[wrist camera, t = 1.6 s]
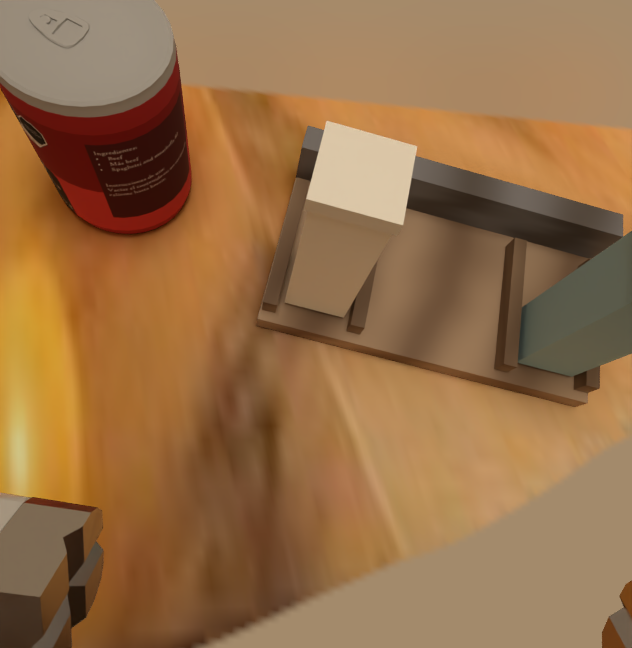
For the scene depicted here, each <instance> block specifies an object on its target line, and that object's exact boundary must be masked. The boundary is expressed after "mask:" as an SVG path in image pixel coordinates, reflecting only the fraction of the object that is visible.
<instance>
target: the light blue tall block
mask: <svg viewBox="0 0 632 648" xmlns="http://www.w3.org/2000/svg"><path fill="white" fill-rule="evenodd" d="M631 353H632V231H631V232H630V233H628V234H627V235H625V236H624V237H622V238H621V239H619V240H618V241H617V242H615V243H614V244H612V245H611V246H609V247H608V248H607V249H605V250H604V251H602V252H601V253H599V254H598V255H596V256H595V257H594V258H592V259H591V260H589V261H588V262H586V263H585V264H584V265H582V266H581V267H579V268H578V269H576V270H575V271H573V272H572V273H571V274H569V275H568V276H566V277H565V278H563V279H562V280H561V281H559V282H558V283H556V284H555V285H553V286H552V287H550V288H549V289H548V290H546V291H545V292H543V293H542V294H540V295H539V296H538V297H536V298H535V299H533V300H532V301H530V302H529V303H527V304H526V305H525V306H523V307H522V313H521V326H520V339H519V352H518V363H521V364H524V365H528V366H532V367H536V368H540V369H544V370H548V371H551V372H555V373H559V374H563V375H567V376H571V377H572V376H575V375H577V374H580V373H582V372H585V371H588V370H590V369H593V368H595V367H598V366H600V365H603V364H606V363H608V362H611V361H613V360H616V359H618V358H621V357H624V356H626V355H629V354H631Z"/></svg>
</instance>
